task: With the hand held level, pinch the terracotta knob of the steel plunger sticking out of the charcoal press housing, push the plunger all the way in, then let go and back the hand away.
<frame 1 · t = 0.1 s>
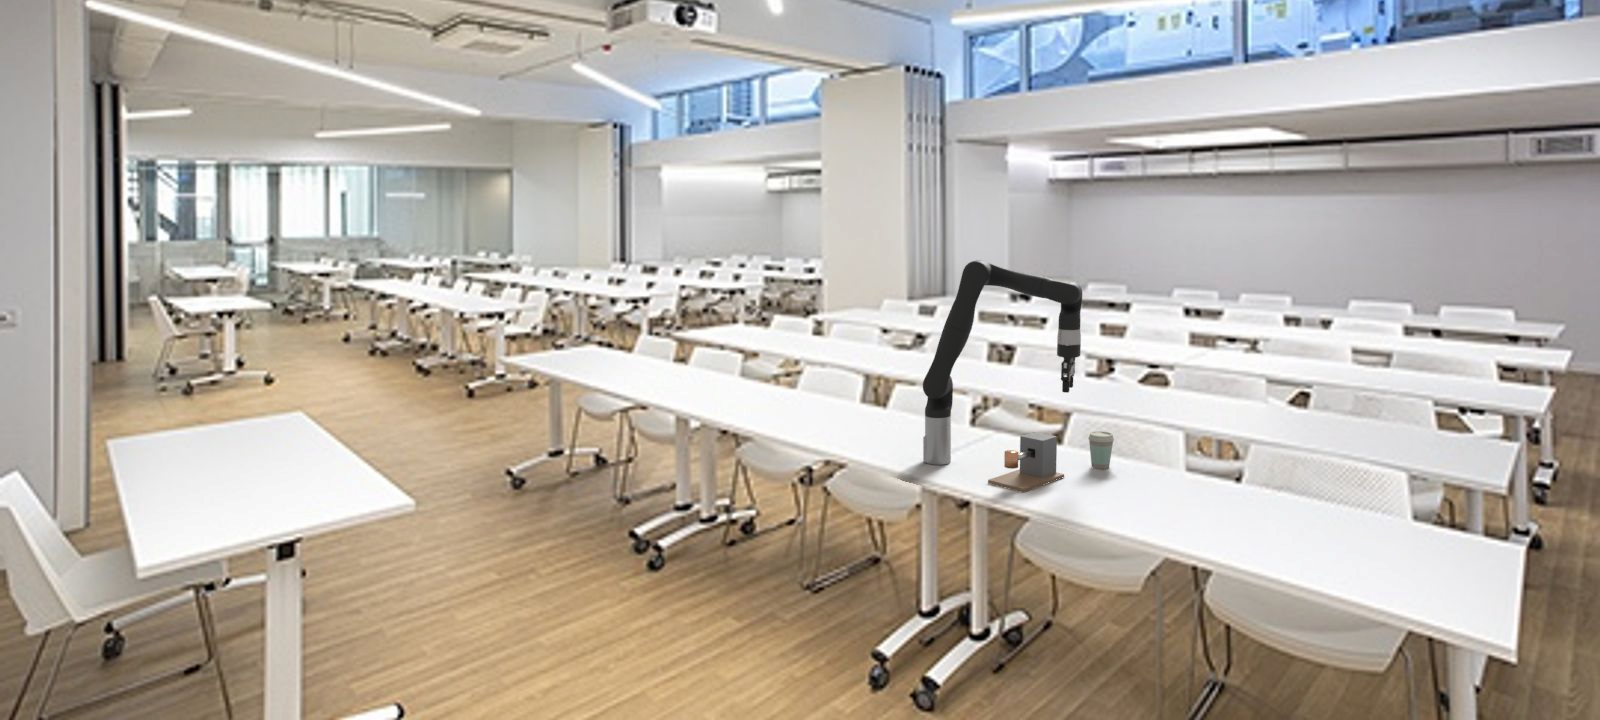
hand: (1067, 389, 305), 29 cm above the table, tool pointing down, fingers open, 8 cm apart
coffee cup: (1100, 467, 317), on the table
press housing: (1030, 478, 305), on the table
plunger: (1019, 456, 300), point 9 cm above the table, slide at 6.0 cm
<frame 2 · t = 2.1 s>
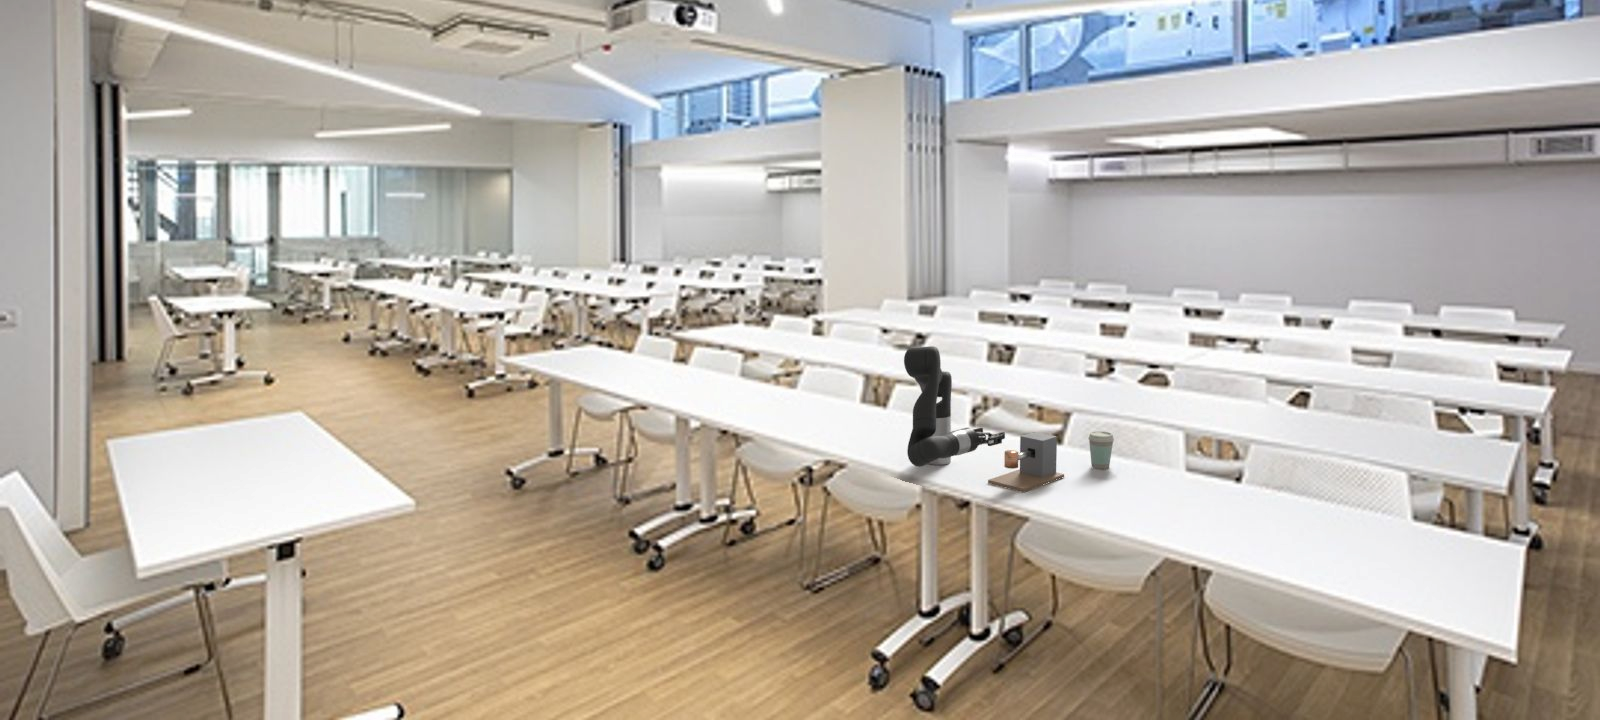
hand: (992, 432, 288), 20 cm above the table, tool horizontal, fingers open, 8 cm apart
nothing on the table moved.
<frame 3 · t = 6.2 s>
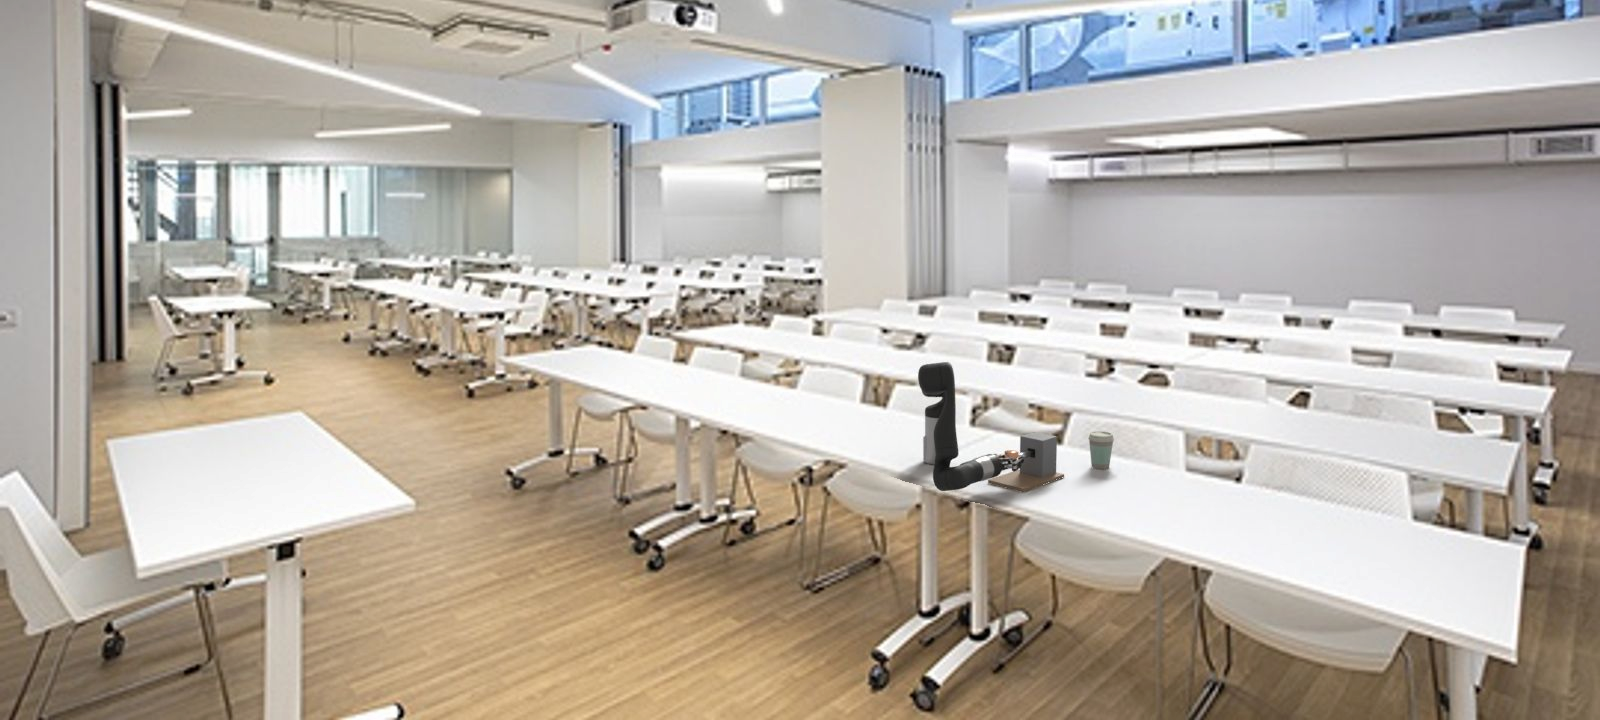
hand: (1016, 457, 298), 9 cm above the table, tool horizontal, fingers closed on plunger, 4 cm apart
plunger: (1019, 456, 300), point 9 cm above the table, slide at 6.0 cm, touching gripper
everything else where it was.
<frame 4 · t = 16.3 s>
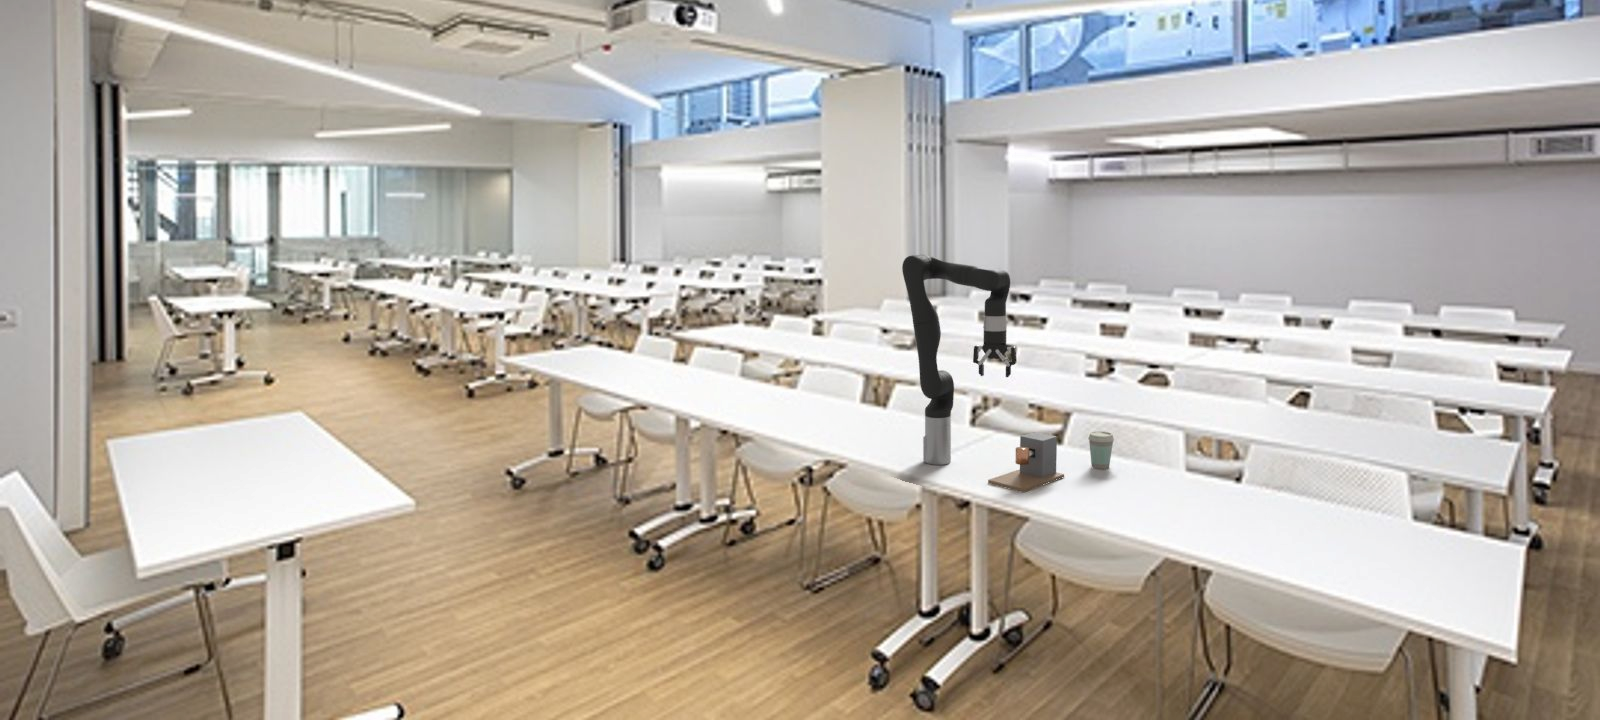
hand: (994, 376, 307), 34 cm above the table, tool pointing down, fingers open, 8 cm apart
plunger: (1030, 453, 304), point 9 cm above the table, slide at 0.0 cm
everything else where it was.
at the end: plunger slide at 0.0 cm; the gripper is holding nothing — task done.
